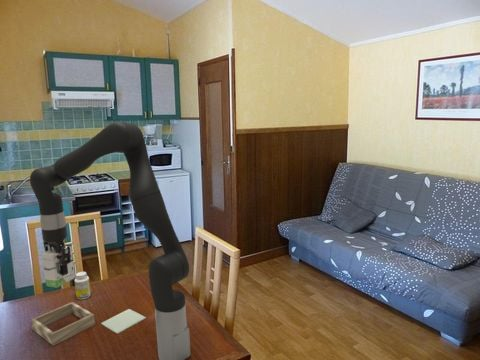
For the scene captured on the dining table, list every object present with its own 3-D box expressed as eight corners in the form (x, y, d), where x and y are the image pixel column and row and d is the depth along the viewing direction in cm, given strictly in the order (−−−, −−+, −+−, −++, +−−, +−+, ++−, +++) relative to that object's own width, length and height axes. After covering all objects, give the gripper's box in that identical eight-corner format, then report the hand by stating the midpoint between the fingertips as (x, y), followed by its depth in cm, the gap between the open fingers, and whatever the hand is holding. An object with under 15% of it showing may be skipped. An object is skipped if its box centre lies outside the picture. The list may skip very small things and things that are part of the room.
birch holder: (94, 324, 136) (93, 314, 135) (53, 345, 125) (51, 334, 124) (73, 311, 145) (72, 301, 144) (32, 329, 134) (31, 319, 133)
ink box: (56, 288, 126) (52, 255, 124) (45, 286, 128) (40, 253, 126) (75, 277, 134) (72, 245, 132) (65, 275, 136) (61, 244, 134)
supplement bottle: (83, 292, 160) (80, 269, 158) (93, 294, 158) (91, 271, 156) (73, 298, 155) (70, 275, 153) (84, 301, 153) (81, 277, 151)
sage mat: (145, 318, 139) (145, 317, 139) (117, 334, 130) (117, 332, 130) (129, 309, 145) (129, 308, 145) (101, 324, 136) (100, 323, 136)
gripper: (75, 226, 126) (81, 273, 129) (54, 219, 135) (60, 263, 138) (52, 232, 120) (59, 281, 123) (32, 224, 129) (38, 271, 132)
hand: (59, 272), depth 130 cm, fingers closed on ink box, 6 cm apart
